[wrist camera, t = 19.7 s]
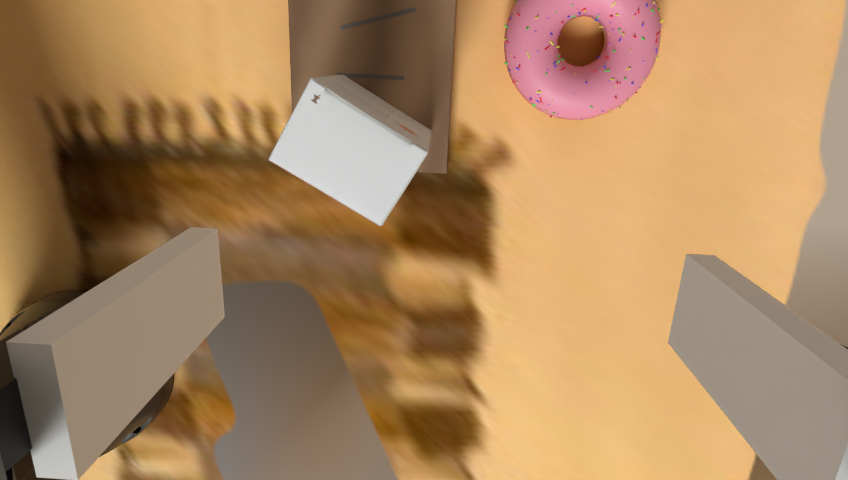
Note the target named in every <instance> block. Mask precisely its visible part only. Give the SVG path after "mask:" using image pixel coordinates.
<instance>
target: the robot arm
mask: <svg viewBox="0 0 848 480" xmlns="http://www.w3.org/2000/svg"><path fill="white" fill-rule="evenodd" d="M224 317H225V315H224V303H223V290H222V278H221V266H220V254H219V241H218V229H212V228H194V227H191V228H189V229H187V230H186V231H184V232H183V233H181V234H179V235H178V236H176V237H174V238H173V239H171V240H170V241H168V242H166V243H165V244H163V245H162V246H160V247H158V248H157V249H155V250H153V251H152V252H150V253H149V254H147V255H145V256H144V257H142V258H141V259H139V260H137V261H136V262H134V263H133V264H131V265H129V266H128V267H126V268H124V269H123V270H121V271H120V272H118V273H116V274H115V275H113V276H112V277H110V278H108V279H107V280H105V281H103V282H102V283H100V284H99V285H97V286H95V287H94V288H92V289H91V290H89V291H64V292H59V293H55V294H51V295H49V296H46V297H44V298H42V299H40V300H38V301H37V302H35V303H33V304H32V305H30V306H28V307H26V308H25V309H23V310H21V311H20V312H19V313H17V314H16V315H15V316H14V317H13V318H12V319H11V320H10V321H9V322H8V323H7V324H6V326H5V327H4V328H3V329H2V331H1V333H0V480H79V478H80V477H81V476H82V475H83V474H84V473H85V472H86V471H87V470H88V468H89V467H90V466H91V465H92V464H93V463H94V462H95V461H96V460H97V458H99V457H100V456H102V455H104V454H106V453H108V452H109V451H111V450H113V449H115V448H116V447H118V446H119V445H121V444H122V443H125V442H127V441H129V440H131V439H132V438H134V437H136V436H137V435H139V434H140V433H141V432H143V431H144V430H145V429H146V428H147V427H148V426H149V425H150V424H151V423H152V422H153V421H154V419H155V418H156V417H157V416H158V415H159V413H160V412H161V411H162V410H163V408H164V407H165V405H166V404H167V402H168V400H169V397H170V395H171V391H172V387H173V374H174V373H175V372H176V370H177V369H178V368H179V367H180V366H181V365H182V364H183V363H184V362H185V360H186V359H187V358H188V357H189V356H190V355H191V354H192V353H193V352H194V350H195V349H196V348H197V347H198V346H199V345H200V344H201V343H202V342H203V340H204V339H205V338H206V337H207V336H208V335H209V334H210V333H211V331H212V330H213V329H214V328H215V327H216V326H217V325H218V324H219V323H220V321H221V320H222V319H223V318H224ZM668 343H669V345H670V346H671V347H672V348H673V350H674V351H675V352H676V353H677V355H678V356H679V357H680V358H681V360H682V361H683V362H684V363H685V365H686V366H687V367H688V368H689V370H690V371H691V372H692V373H693V375H694V376H695V377H696V378H697V380H698V381H699V382H700V383H701V385H702V386H703V387H704V388H705V390H706V391H707V392H708V393H709V395H710V396H711V397H712V399H713V400H714V401H715V402H716V404H717V405H718V406H719V407H720V409H721V410H722V411H723V412H724V414H725V415H726V416H727V417H728V419H729V420H730V421H731V422H732V424H733V425H734V426H735V427H736V429H737V430H738V431H739V432H740V434H741V435H742V436H743V437H744V439H745V440H746V441H747V442H748V444H749V445H750V446H751V447H752V449H753V450H754V451H755V452H756V454H757V455H758V456H759V457H760V459H761V460H762V461H763V462H764V464H765V465H766V466H767V467H768V469H769V470H770V471H771V472H772V474H773V475H774V476H775V478H776V479H777V480H848V347H845V346H843V345H841V344H839V343H838V342H836V341H835V340H833V339H832V338H830V337H829V336H828V335H826V334H825V333H824V332H822V331H821V330H819V329H818V328H817V327H815V326H813V325H812V324H811V323H809V322H808V321H807V320H805V319H804V318H802V317H801V316H800V315H798V314H797V313H795V312H794V311H793V310H791V309H789V308H788V307H787V306H785V305H784V304H783V303H781V302H780V301H778V300H777V299H776V298H774V297H773V296H771V295H770V294H768V293H767V292H766V291H764V290H763V289H761V288H760V287H759V286H757V285H756V284H754V283H753V282H751V281H750V280H749V279H747V278H746V277H744V276H743V275H742V274H740V273H739V272H737V271H736V270H735V269H733V268H732V267H730V266H729V265H727V264H726V263H725V262H723V261H722V260H720V259H719V258H718V257H716V256H715V255H698V254H686V258H685V263H684V268H683V273H682V277H681V282H680V287H679V292H678V297H677V302H676V307H675V311H674V316H673V321H672V326H671V331H670V336H669V340H668Z"/></svg>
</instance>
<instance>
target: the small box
mask: <svg viewBox="0 0 848 480" xmlns="http://www.w3.org/2000/svg"><path fill="white" fill-rule="evenodd" d="M431 132H432V131H431V130H430V129H428V128H427V127H425V126H423V125H422V124H420V123H419V122H417V121H415V120H414V119H412V118H411V117H409V116H408V115H406V114H404V113H403V112H401V111H400V110H398V109H396V108H395V107H393V106H392V105H390V104H389V103H387V102H385V101H384V100H382V99H381V98H379V97H377V96H376V95H374V94H373V93H371V92H370V91H368V90H366V89H365V88H363V87H362V86H360V85H358V84H357V83H355V82H354V81H352V80H351V79H349V78H348V77H346V76H345V75H333V76H323V77H312V78H310V80H309V82H308V84H307V86H306V87H305V89H304V91H303V93H302V95H301V97H300V99H299V101H298V103H297V105H296V107H295V109H294V111H293V113H292V115H291V116H290V118H289V120H288V122H287V124H286V126H285V128H284V130H283V132H282V134H281V136H280V138H279V139H278V141H277V143H276V145H275V147H274V149H273V151H272V153H271V155H270V157H269V161H271V162H272V163H274V164H276V165H277V166H279V167H281V168H282V169H284V170H286V171H288V172H289V173H291V174H293V175H294V176H296V177H298V178H299V179H301V180H303V181H305V182H306V183H308V184H310V185H311V186H313V187H315V188H316V189H318V190H320V191H321V192H323V193H325V194H326V195H328V196H330V197H331V198H333V199H335V200H337V201H338V202H340V203H342V204H343V205H345V206H347V207H348V208H350V209H352V210H353V211H355V212H357V213H358V214H360V215H362V216H363V217H365V218H367V219H368V220H370V221H372V222H374V223H375V224H377V225H378V226H382V225H383V223H384V222H385V220H386V219H387V217H388V215H389V214H390V212H391V211H392V209H393V208H394V206H395V205H396V203H397V201H398V200H399V198H400V197H401V195H402V194H403V192H404V191H405V189H406V187H407V186H408V184H409V183H410V181H411V180H412V178H413V176H414V175H415V173H416V172H417V170H418V168H419V167H420V165H421V164H422V162H423V160H424V159H425V157H426V156H427V154H428V151H429V144H430V139H431Z"/></svg>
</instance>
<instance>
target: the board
mask: <svg viewBox="0 0 848 480" xmlns="http://www.w3.org/2000/svg"><path fill="white" fill-rule="evenodd" d="M288 6H289V36H290V65H291V94H292V113H293V111H294V109H295V107H296V105H297V103H298V101H299V99H300V97H301V95H302V93H303V91H304V89H305V87H306V86H307V84H308V82H309V80H310V78H312V77H323V76H333V75H345V76H346V77H348V78H349V79H351V80H352V81H354V82H355V83H357V84H358V85H360V86H362V87H363V88H365V89H366V90H368V91H370V92H371V93H373V94H374V95H376V96H377V97H379V98H381V99H382V100H384V101H385V102H387V103H389V104H390V105H392V106H393V107H395V108H396V109H398V110H400V111H401V112H403V113H404V114H406V115H408V116H409V117H411V118H412V119H414V120H415V121H417V122H419V123H420V124H422V125H423V126H425V127H427V128H428V129H430V130H431V131H432V132H431V139H430V144H429V151H428V154H427V156H426V157H425V159H424V160H423V162H422V164H421V165H420V167H419V168H418V170H417V172H425V173H445V174H446V171H447V153H448V135H449V117H450V99H451V81H452V63H453V45H454V27H455V9H456V0H288Z"/></svg>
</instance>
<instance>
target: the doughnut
mask: <svg viewBox="0 0 848 480" xmlns="http://www.w3.org/2000/svg"><path fill="white" fill-rule="evenodd" d="M656 5H657V4H656V2H655V0H517V1H515V4H514V6H513V8H512V10H511V13H510V15H509V18H508V22H507V26H506V25H505V27H506V31H505V39H504V51H505V59H506V62H505V64H507V68H508V72H509V75H510V77H511V79H512V81H513V83H514V85H515V86H516V88H517V89H518V91H519V92H520V94H521V95H522V96H523V97H524V98H525V99H526V100H527V101H528V102H529V103H530V104H531V105H532V106H534V107H535V108H537V109H538V110H540V111H542V112H544V113H546V114H548V115H551V116H550V117H552V116H554V117H557V118H562V119H571V120H583V119H589V118H593V117H596V116H599V115H602V114H605V113H608V112H609V113H610V111H612V110H614V109H616V108H617V107H619V108H621V105H622V104H623V103H625V102H626V101H627V102H628V99H629V98H630V97H631V96H632V95H633V94H634V93H637V92H636V91H637V90H638V89H639V88H641V87H640V86H641V85H642V84H643V83H644V81H645V80H646V78H647V77H648V75H649V74H650V72H651V70H652V68H653V66H654V63H655V61H656V59H658V58H659V57H657V54H658V50H659V44H660V34H661V26H662V25H661V22H662V21H663V19H662V20H661V21H660V15H659V12H658V9H660V8H657V6H656ZM580 16H588V17H591V18H594V19H595V21H598V22H599V24H600V25H601V26H599V28H601V27H602V29H603V32H604V37H605V42H604V47H603V50H602V52H601V54H600V56H598V57H597V59H596V60H595V61H594V62H592V63H590V64H588V65H585V66H574V65H571V64H569V63H568V62H566V61H565V60H564V58H563V57H562V55H561V54H560V52H559V49H558V48H559V47H560V46H558V38H559V35H561V33H560V32H561V30H562V28H563V27H564V26H565V25H566V23H568V22H569V21H570V20H572V19H574V18H576V17H580Z"/></svg>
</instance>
